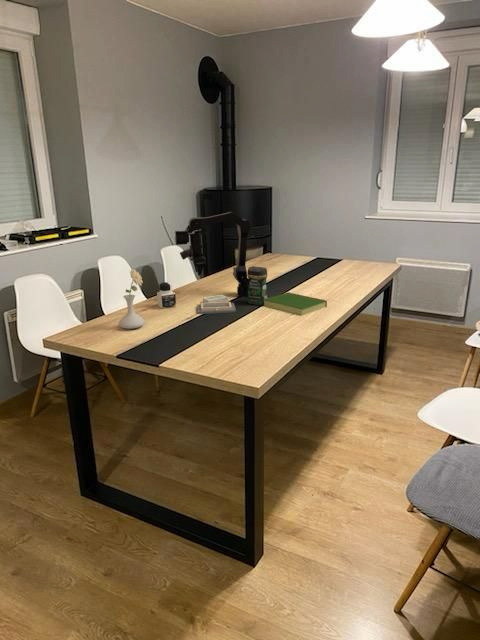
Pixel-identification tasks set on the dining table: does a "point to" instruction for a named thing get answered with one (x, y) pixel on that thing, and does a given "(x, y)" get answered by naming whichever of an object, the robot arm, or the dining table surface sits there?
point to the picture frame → (215, 299)
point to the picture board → (216, 307)
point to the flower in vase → (131, 318)
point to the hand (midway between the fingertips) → (198, 273)
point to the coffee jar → (257, 285)
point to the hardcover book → (295, 303)
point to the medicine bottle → (166, 296)
